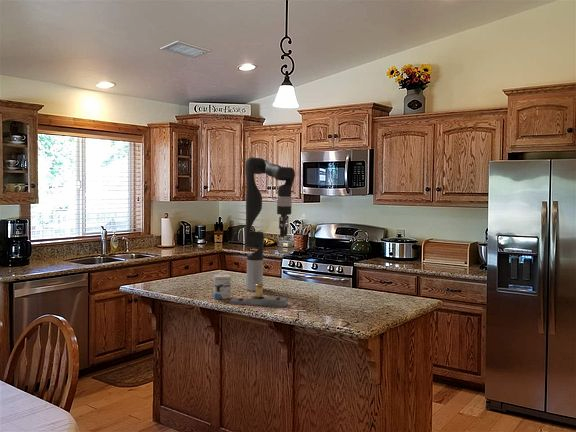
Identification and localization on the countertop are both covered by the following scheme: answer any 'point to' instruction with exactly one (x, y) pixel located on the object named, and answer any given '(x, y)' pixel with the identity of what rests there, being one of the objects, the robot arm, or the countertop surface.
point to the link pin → (258, 291)
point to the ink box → (222, 287)
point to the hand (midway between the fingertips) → (283, 236)
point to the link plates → (261, 301)
